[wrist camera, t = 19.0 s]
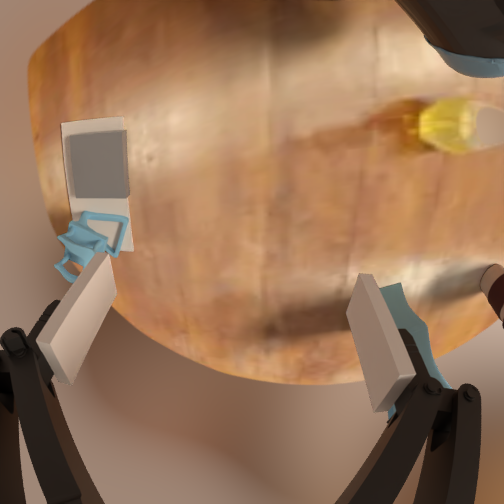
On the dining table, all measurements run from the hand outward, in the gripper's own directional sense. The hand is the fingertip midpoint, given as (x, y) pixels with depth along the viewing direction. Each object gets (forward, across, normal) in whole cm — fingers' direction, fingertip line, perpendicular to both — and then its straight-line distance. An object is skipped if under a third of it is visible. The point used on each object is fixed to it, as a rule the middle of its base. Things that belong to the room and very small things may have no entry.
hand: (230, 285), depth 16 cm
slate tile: (+28, -17, -2) cm, 33 cm away
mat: (+29, -23, -6) cm, 38 cm away
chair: (+29, -23, -13) cm, 39 cm away
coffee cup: (+30, +55, -18) cm, 65 cm away
